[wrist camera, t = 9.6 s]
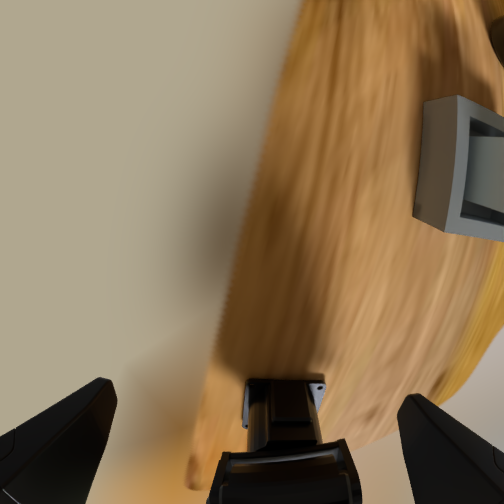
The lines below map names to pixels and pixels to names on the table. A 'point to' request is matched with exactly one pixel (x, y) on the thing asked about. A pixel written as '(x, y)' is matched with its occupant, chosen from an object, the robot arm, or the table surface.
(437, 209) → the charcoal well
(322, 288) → the table surface
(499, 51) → the supplement bottle
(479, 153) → the blue-grey block
